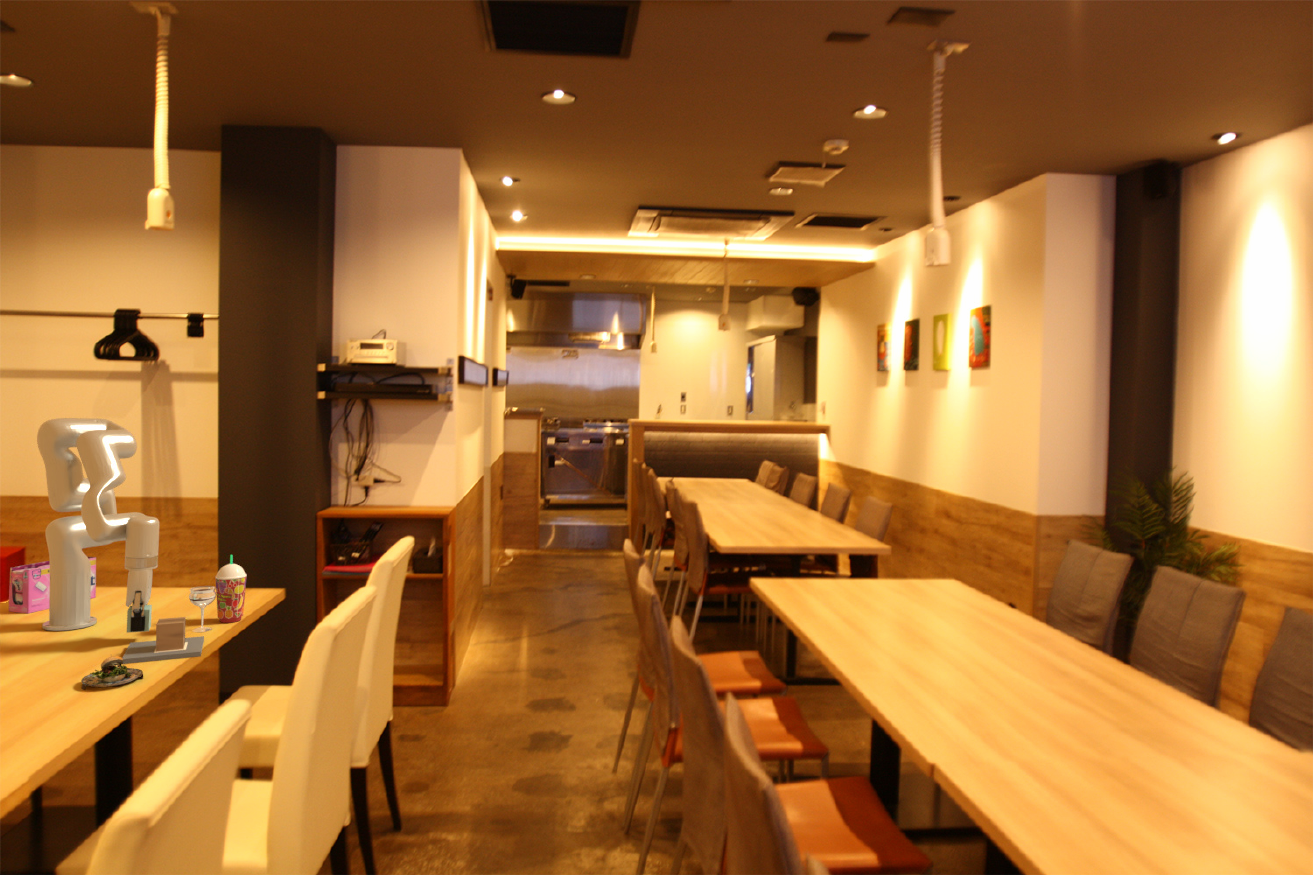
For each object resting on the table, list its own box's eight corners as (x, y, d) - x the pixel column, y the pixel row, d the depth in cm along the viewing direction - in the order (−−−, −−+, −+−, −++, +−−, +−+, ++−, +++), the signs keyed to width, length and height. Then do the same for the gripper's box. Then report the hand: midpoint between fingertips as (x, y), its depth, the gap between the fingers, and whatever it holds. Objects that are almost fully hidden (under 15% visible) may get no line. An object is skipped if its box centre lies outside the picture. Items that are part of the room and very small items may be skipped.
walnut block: (158, 645, 205) (158, 618, 205) (185, 642, 208) (185, 616, 207) (156, 651, 199) (156, 624, 199) (183, 649, 202) (183, 622, 202)
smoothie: (208, 622, 232) (209, 555, 232) (232, 615, 240) (233, 551, 240) (228, 625, 229) (229, 558, 229) (252, 619, 237) (253, 554, 237)
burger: (74, 694, 173) (74, 661, 173) (88, 677, 184) (88, 646, 183) (137, 688, 178) (138, 656, 178) (148, 672, 189) (148, 642, 188)
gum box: (24, 615, 234) (24, 570, 234) (3, 612, 236) (3, 568, 236) (96, 597, 258) (97, 556, 257) (77, 595, 259) (77, 555, 259)
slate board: (130, 647, 206) (130, 642, 206) (203, 640, 214) (203, 635, 214) (121, 664, 193) (121, 658, 193) (200, 656, 201) (200, 651, 201)
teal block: (129, 627, 213) (130, 605, 213) (150, 626, 215) (151, 604, 215) (126, 632, 209) (127, 610, 208) (148, 631, 211) (149, 609, 211)
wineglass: (219, 630, 225) (219, 588, 224) (192, 634, 220) (193, 592, 219) (211, 625, 229) (211, 584, 229) (185, 629, 224) (185, 588, 224)
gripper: (129, 556, 217) (126, 620, 218) (120, 569, 202) (117, 638, 203) (161, 555, 221) (158, 618, 221) (154, 568, 206) (151, 636, 206)
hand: (138, 627), depth 212 cm, fingers closed on teal block, 5 cm apart
